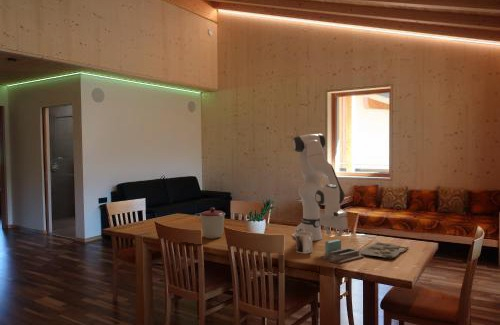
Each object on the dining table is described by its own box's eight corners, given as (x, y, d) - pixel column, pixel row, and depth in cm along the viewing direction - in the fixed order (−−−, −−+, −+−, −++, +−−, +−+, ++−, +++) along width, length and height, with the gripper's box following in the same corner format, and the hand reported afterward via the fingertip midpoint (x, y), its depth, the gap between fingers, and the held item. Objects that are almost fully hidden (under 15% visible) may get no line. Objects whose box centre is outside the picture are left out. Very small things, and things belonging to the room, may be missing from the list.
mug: (314, 249, 242) (314, 231, 241) (312, 255, 230) (312, 236, 230) (297, 248, 245) (297, 231, 244) (294, 254, 233) (294, 235, 232)
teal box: (325, 253, 234) (325, 241, 233) (337, 250, 239) (337, 239, 239) (328, 254, 231) (328, 242, 231) (341, 251, 237) (341, 240, 236)
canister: (200, 240, 268) (199, 210, 266) (199, 234, 285) (199, 205, 284) (226, 239, 270) (226, 209, 269) (224, 233, 288) (224, 204, 287)
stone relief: (409, 249, 240) (377, 243, 253) (409, 245, 240) (377, 239, 253) (390, 263, 215) (356, 256, 228) (391, 258, 215) (356, 251, 227)
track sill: (320, 258, 224) (320, 252, 224) (345, 252, 235) (345, 246, 235) (338, 264, 212) (338, 257, 212) (363, 257, 223) (363, 251, 223)
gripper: (316, 210, 241) (317, 233, 241) (341, 214, 223) (342, 238, 224) (324, 209, 244) (325, 231, 244) (349, 213, 227) (349, 236, 227)
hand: (333, 234), depth 234 cm, fingers open, 8 cm apart
